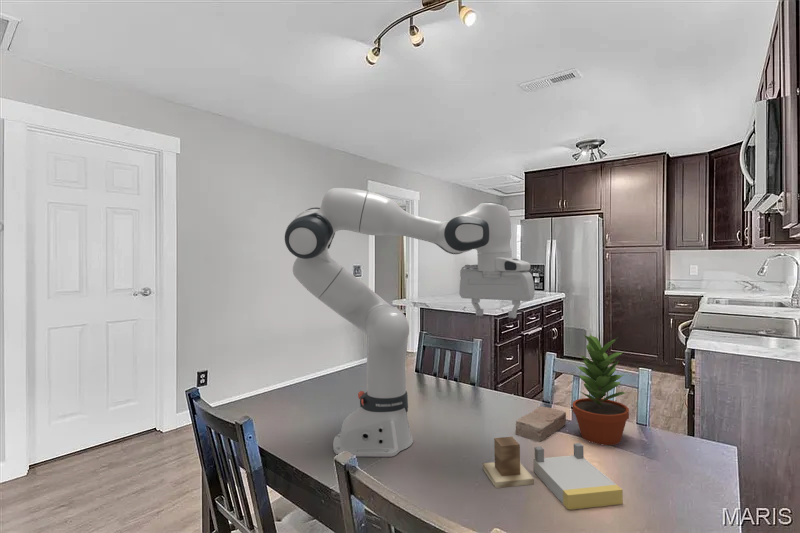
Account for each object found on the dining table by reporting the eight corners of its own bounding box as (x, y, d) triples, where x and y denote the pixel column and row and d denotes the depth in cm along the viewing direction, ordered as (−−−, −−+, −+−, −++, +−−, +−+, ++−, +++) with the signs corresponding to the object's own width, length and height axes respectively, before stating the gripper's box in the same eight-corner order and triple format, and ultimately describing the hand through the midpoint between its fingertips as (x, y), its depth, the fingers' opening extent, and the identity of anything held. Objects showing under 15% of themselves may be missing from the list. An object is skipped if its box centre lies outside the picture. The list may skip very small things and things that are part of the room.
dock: (568, 509, 87) (567, 480, 87) (533, 471, 103) (533, 446, 103) (622, 503, 89) (622, 475, 88) (580, 466, 104) (580, 442, 104)
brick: (540, 443, 119) (540, 426, 119) (514, 435, 125) (513, 419, 125) (567, 426, 130) (567, 411, 130) (541, 419, 136) (541, 404, 136)
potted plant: (644, 443, 116) (642, 333, 116) (598, 452, 112) (596, 338, 111) (603, 423, 130) (602, 325, 130) (561, 430, 126) (559, 329, 126)
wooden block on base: (495, 488, 96) (495, 451, 96) (482, 469, 105) (482, 435, 105) (534, 485, 97) (533, 448, 97) (518, 466, 106) (517, 432, 106)
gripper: (454, 265, 117) (455, 315, 117) (526, 264, 104) (527, 320, 104) (466, 264, 122) (467, 313, 122) (536, 263, 109) (537, 317, 109)
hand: (495, 316), depth 113 cm, fingers open, 8 cm apart
